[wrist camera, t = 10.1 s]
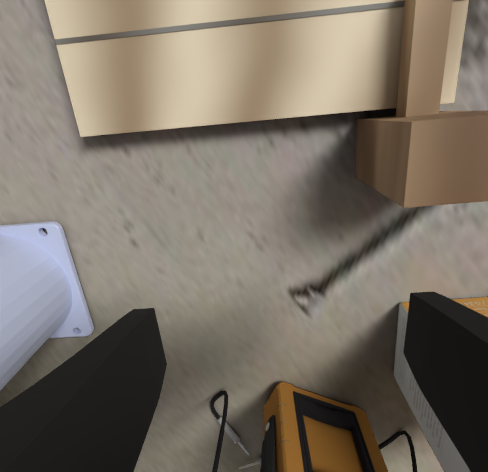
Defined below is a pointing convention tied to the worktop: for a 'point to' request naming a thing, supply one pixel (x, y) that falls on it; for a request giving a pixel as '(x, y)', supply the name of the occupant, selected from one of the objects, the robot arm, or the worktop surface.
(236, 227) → the worktop surface
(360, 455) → the multimeter
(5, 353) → the robot arm
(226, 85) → the board
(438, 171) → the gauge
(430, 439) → the small box
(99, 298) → the worktop surface
